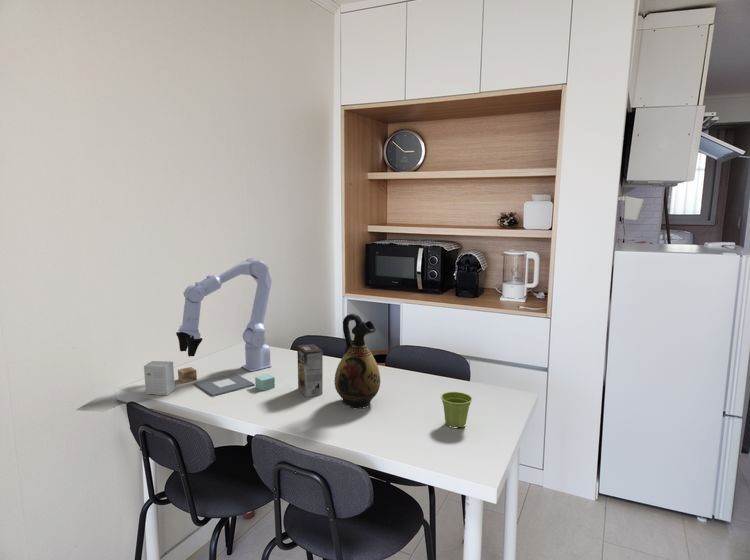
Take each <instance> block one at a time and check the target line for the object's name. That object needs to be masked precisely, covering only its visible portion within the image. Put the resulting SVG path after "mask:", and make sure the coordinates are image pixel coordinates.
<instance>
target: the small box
mask: <svg viewBox="0 0 750 560" xmlns="http://www.w3.org/2000/svg"><path fill="white" fill-rule="evenodd" d="M143 373H144V383H145V385H144V386H145V387H144V389H145V394H146V395H148V394H155V396H168V395H170V394H171V393H173V391H174V390H176V387H175V386H176V385H175V384H176V383H175V370H174V362H173V361H163V360H162V361H160V360H159V361H157V360H152V361H150V362H148V363H147V364H145V365H143Z"/></svg>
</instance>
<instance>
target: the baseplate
mask: <svg viewBox="0 0 750 560" xmlns="http://www.w3.org/2000/svg"><path fill="white" fill-rule="evenodd" d="M193 385H194V386H196V387H198V388H200V390H202V391H204V392H205V393H206V394H208V395H210V396H212V397H216V396H221V395H224V394H229V393H231V392H235V391H240V390H244V389H248V388H251V387H256V386H255V383H254V382H252V381H250V380H248V379H247V378H245V377H244V376H241V375H239V374H237V373H235V372H232V373H227V374H224V375H220V376H216V377H211V378H207V379H203V380H199V381H198V380H197V381H193Z"/></svg>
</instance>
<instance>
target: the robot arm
mask: <svg viewBox="0 0 750 560" xmlns="http://www.w3.org/2000/svg"><path fill="white" fill-rule="evenodd" d="M240 275H243V276H244V275H245V276H251V277H252V279H253V280H255V282H256V284H257V285H256V290H255V294H254V295H255V296H254V299H253V304H252V311H251V316H250V320H249V322H248V323H247V325H246V328H245V330H244V331H243V333H242V339H243V341H244V342H245V345H244V349H245V350H244V351H245V352H244V353H245V364H244V365H241V368H244V369H245V370H247V371H249V372H255V371H258V370H263V369H268V368H271V367H272V365H271V349H270V346H269V345H268V344H266V339H267V338H266V335H265V334H266V329H265V325H264V321H265V318H266V317H265V316H266V312H267V307H268V302H269V296H270V291H271V287H272V278H271V275H270V271H269V266H268V265H267V264H266V263H265V262H264V260H261V259H260V260H259V259H255V258H253V257H252V258H251V257H250V258H247V259H246V260H242V261H240V262H239V263H237V264H236V265H234V266H233V267H231V268H229V269H227V270H225V271H224V272H222V273H220V274H219V275H215V274H214V275H213V274H212V275H209V274H208V275H206V276H205V277H206V278H204V279H203V280H201V281H195V283H194V284H195V285H194V284H193V285H188V286H187V287H186V288H185V289H184V291H183V296H184V298H185V299H184V300H185V301H184V306H183V315H182V322H181V323H182V325H181V324H180V325H179V328H178V330H177V332H176V333H175V334H176V336H177V338H178V344H179V351H180V352H187V356H188V357H195V355H196V353H197V350H198V348H199V345H200V344H201V343H202V342H203V338H202V337H201V333H200V332H199V323H200V315H201V304H202V301H203V300H204V299H205V297H207V296H208V295H210V294H212V293H214V292H216V291H218V290H220V289H221V287H222V285H223V284H224V283H227V282H228V281H230V280H232V279H234V278H237V277H239V276H240Z"/></svg>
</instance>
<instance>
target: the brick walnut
mask: <svg viewBox="0 0 750 560" xmlns="http://www.w3.org/2000/svg"><path fill="white" fill-rule="evenodd" d="M197 375H198V374H197V369H195V368H193V367H192V366H189V367H184V368H180V369H177V380H178V381H179V382H181V383H183V384H186V383H190V382H196V381H198V376H197Z"/></svg>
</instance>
